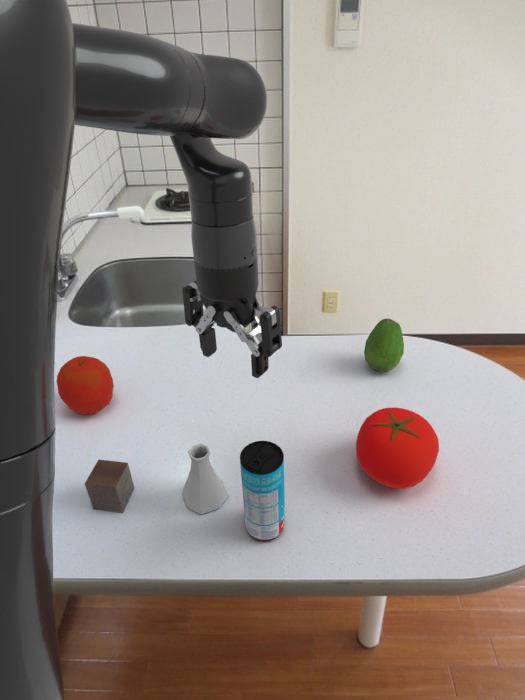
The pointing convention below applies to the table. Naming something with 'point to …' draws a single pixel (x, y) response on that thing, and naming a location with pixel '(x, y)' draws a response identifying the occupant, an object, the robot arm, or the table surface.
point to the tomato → (397, 447)
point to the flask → (203, 483)
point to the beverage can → (263, 489)
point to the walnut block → (110, 486)
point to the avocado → (384, 346)
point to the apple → (85, 384)
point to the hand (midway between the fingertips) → (234, 363)
